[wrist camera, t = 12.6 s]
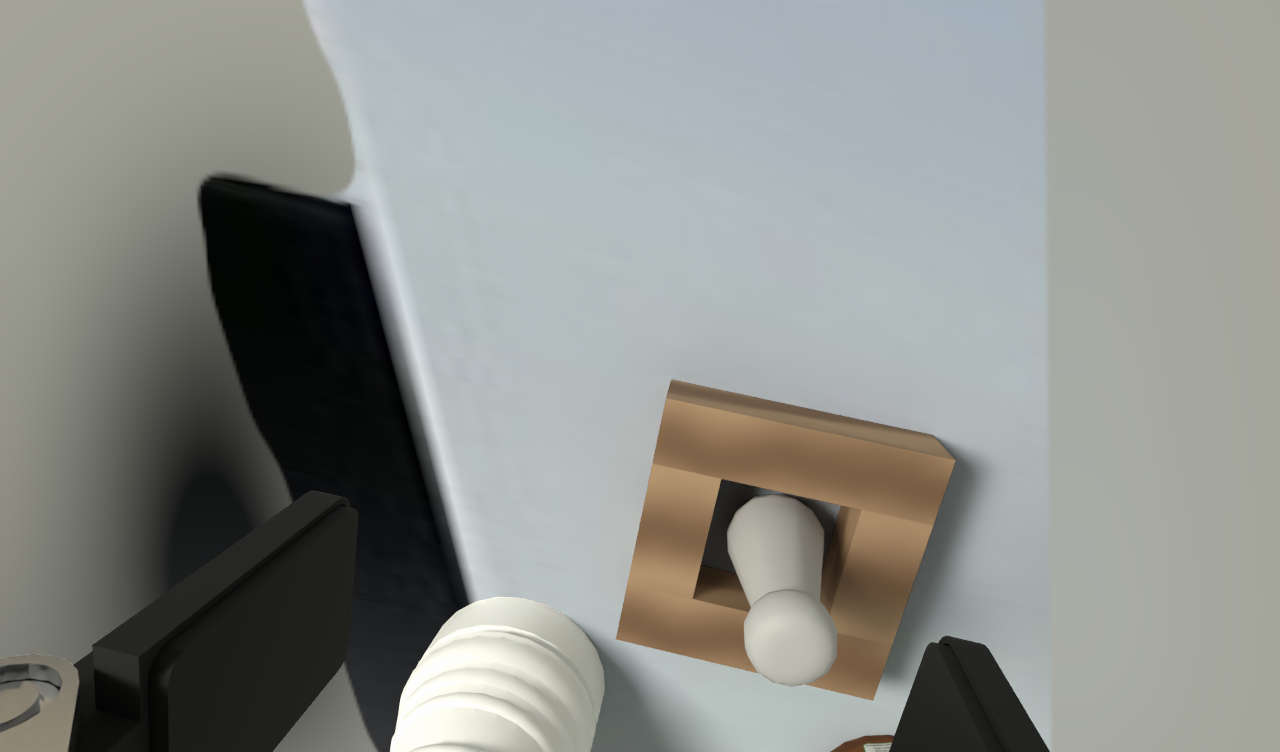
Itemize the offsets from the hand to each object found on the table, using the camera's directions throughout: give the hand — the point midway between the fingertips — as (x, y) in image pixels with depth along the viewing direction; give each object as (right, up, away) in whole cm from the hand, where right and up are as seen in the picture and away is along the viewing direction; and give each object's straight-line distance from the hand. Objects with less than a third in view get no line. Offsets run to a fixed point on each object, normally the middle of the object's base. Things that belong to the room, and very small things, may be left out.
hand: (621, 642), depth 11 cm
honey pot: (-8, -17, +37) cm, 42 cm away
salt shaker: (+9, -5, +32) cm, 34 cm away
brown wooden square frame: (+9, -5, +32) cm, 33 cm away
